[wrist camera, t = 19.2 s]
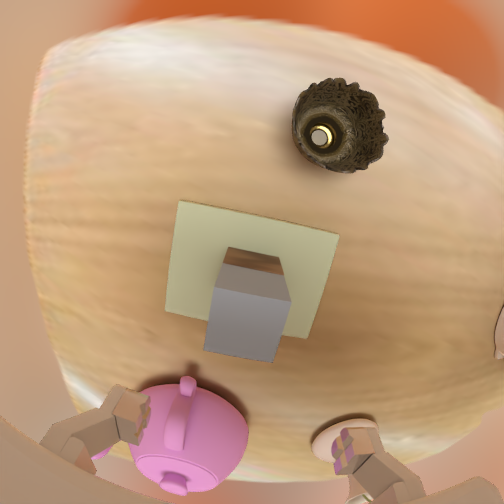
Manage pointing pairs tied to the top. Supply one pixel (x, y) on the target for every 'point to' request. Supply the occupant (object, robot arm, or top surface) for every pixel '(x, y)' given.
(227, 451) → the teapot
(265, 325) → the slate block
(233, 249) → the walnut block
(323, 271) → the base plate
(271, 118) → the top surface
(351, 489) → the flower in vase
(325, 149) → the dark brown round piece
